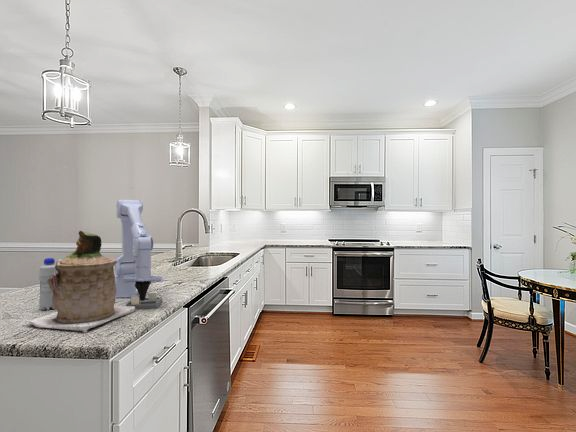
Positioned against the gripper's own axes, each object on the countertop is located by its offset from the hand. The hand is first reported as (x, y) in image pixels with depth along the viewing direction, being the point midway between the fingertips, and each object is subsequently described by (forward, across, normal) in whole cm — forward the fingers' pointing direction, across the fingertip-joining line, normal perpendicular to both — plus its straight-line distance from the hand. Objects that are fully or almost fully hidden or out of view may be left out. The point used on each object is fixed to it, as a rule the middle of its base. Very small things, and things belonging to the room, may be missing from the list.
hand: (142, 300), depth 127 cm
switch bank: (+3, 0, +3) cm, 4 cm away
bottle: (+3, -36, +4) cm, 36 cm away
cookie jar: (+3, -17, -10) cm, 20 cm away
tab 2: (+2, +3, +6) cm, 6 cm away
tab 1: (+2, -3, 0) cm, 3 cm away
